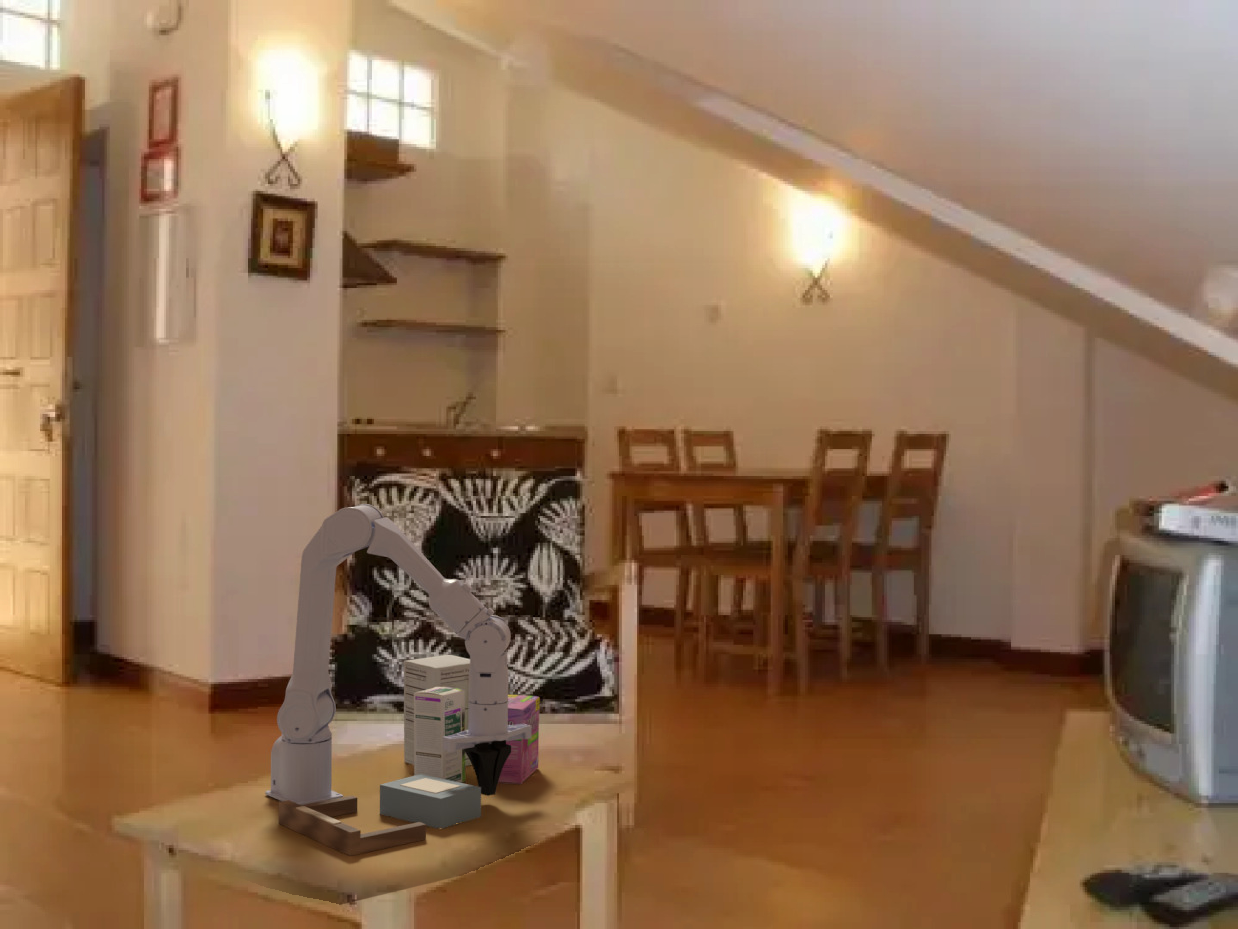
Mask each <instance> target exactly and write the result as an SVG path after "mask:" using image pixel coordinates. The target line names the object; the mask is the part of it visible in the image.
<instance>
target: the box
mask: <svg viewBox="0 0 1238 929" xmlns="http://www.w3.org/2000/svg"><path fill="white" fill-rule="evenodd" d="M540 699H541V698H540V696H537V695H525V694H523V695H522V694H521V695H520V694H508V725H517V724H527V725H530V726H531V739H518V740H512V741H506V744H508V745H511V753H510V755H509V756H508V758H507V760H506V762H505V764H504V766H503V768H502V771H501V774H500V777H499V780H498V784H509V785H510V784H511V785H522V784H523V783H524V782H525V781H526V780H527V779H528V778H529V777H530V776H531V775H533V773H534V772H536V771H537V770H538V769H539V737H540V736H539V735H540V734H539V732H540V731H539V730H540V729H539V728H540V727H539V725H540V702H541V701H540Z"/></svg>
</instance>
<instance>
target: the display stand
mask: <svg viewBox="0 0 1238 929" xmlns="http://www.w3.org/2000/svg"><path fill="white" fill-rule="evenodd" d="M357 812H358V797H357V796H354V795H348V796H343V797H342V798H336V799H331V800H325V801H320V802H315V803H309V804H304V805H299V804H297V803H294V802H292V801H290V800H287V801H278V824H279V825H281V826H283V827H285V828H288V829H290V830H292V831H295V832H296V833H298V834H301V835H304V836H306V837H307V838H310V839H312V840H314V841H317V842H319V843H321V844H323V845H326V846H327V847H330V848H332V849H335V850H336V851H339V852H341V853H343V854H346V855H347V856H349V857H350V856H356V855H359V854H364V853H369V852H374V851H378V850H383V849H387V848H393V847H397V846H402V845H405V844H406V845H407V844H411V843H416V842H419V841H424V840H427V826H426V824H424V823H421V822H417V823H413V822H411V823H409V824H408V823H407V824H403V825H399V826H394V827H389V828H384V829H379V830H376V831H371V832H370V831H369V832H365V833H361V829H358V828H356V827H353V826H351V825H349V824H346V823H344V822H342V821H341V820H338V819H336V818H333V817H337V816H341V815H342V816H343V815H347V814H352V813H357Z"/></svg>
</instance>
